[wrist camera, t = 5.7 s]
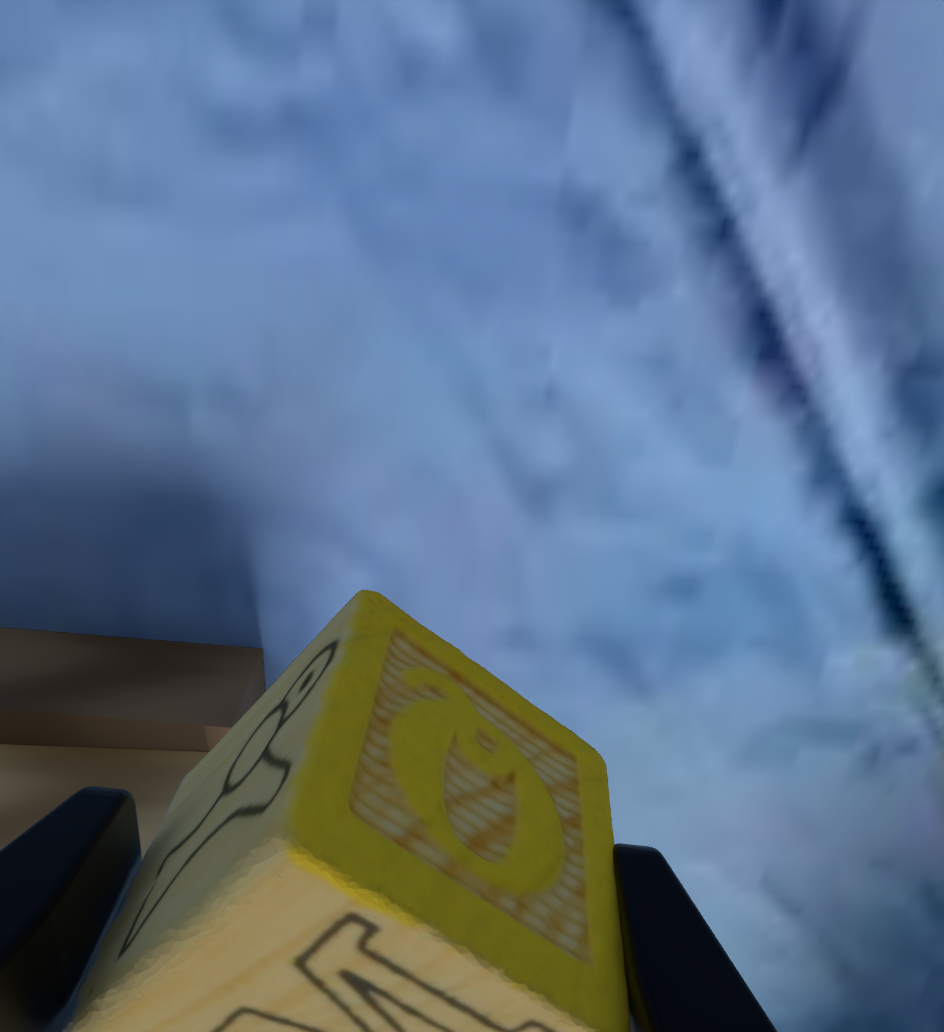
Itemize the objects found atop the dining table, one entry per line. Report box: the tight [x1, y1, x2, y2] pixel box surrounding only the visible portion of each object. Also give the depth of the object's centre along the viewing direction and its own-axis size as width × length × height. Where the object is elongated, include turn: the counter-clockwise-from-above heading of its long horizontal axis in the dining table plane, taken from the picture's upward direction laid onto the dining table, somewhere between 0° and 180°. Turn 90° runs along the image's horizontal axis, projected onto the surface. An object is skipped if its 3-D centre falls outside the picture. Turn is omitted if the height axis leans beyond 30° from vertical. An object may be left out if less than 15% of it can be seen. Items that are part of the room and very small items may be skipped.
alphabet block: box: [61, 590, 631, 1032], centre depth 8 cm, size 3×3×3 cm
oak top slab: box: [0, 744, 209, 860], centre depth 19 cm, size 7×7×3 cm
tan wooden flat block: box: [0, 627, 266, 752], centre depth 21 cm, size 8×8×3 cm
